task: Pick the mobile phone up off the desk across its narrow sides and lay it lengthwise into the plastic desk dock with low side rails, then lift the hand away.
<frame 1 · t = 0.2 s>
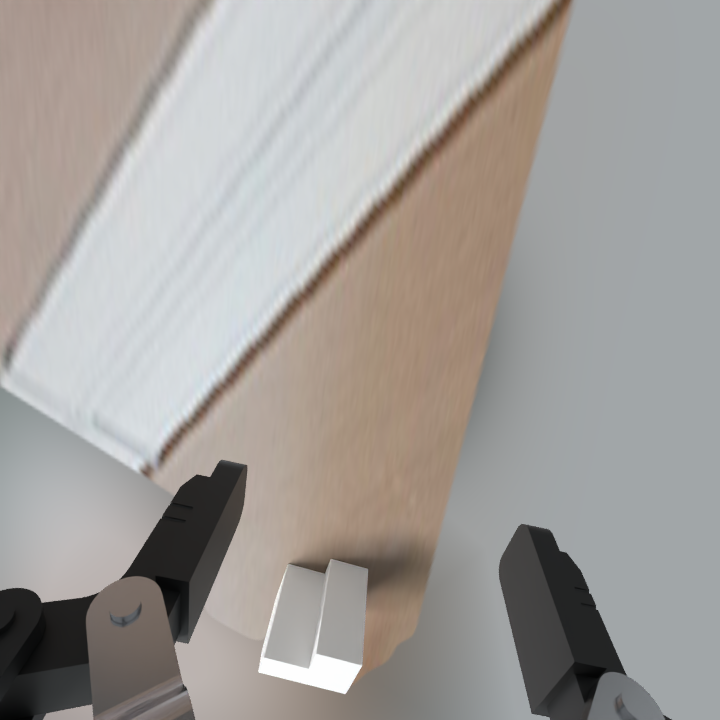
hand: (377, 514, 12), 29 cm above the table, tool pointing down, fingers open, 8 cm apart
corner bracket: (320, 582, 59), on the table
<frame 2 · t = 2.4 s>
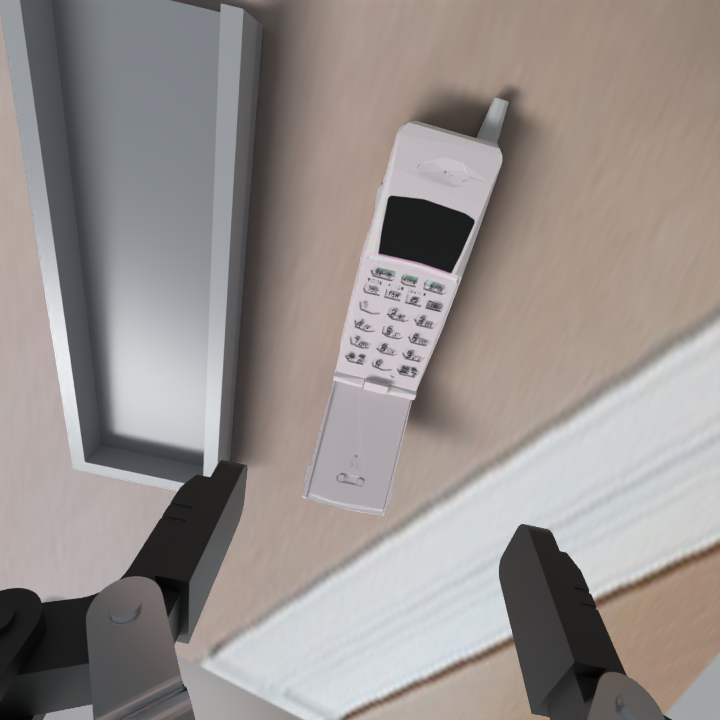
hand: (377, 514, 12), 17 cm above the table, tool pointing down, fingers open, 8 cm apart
phone dock: (160, 287, 27), on the table
mobile phone: (394, 310, 27), on the table
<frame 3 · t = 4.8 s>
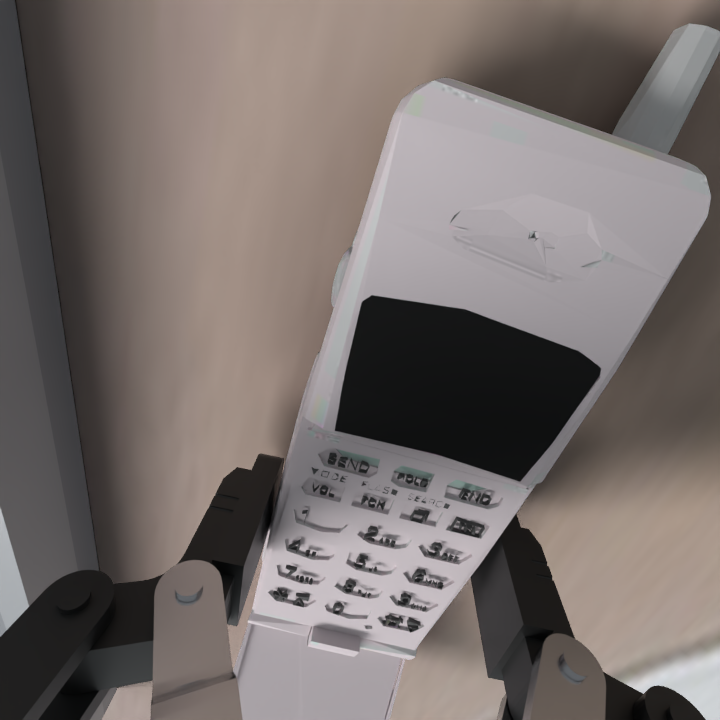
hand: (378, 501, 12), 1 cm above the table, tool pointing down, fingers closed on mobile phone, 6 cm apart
mobile phone: (377, 480, 14), on the table, touching gripper
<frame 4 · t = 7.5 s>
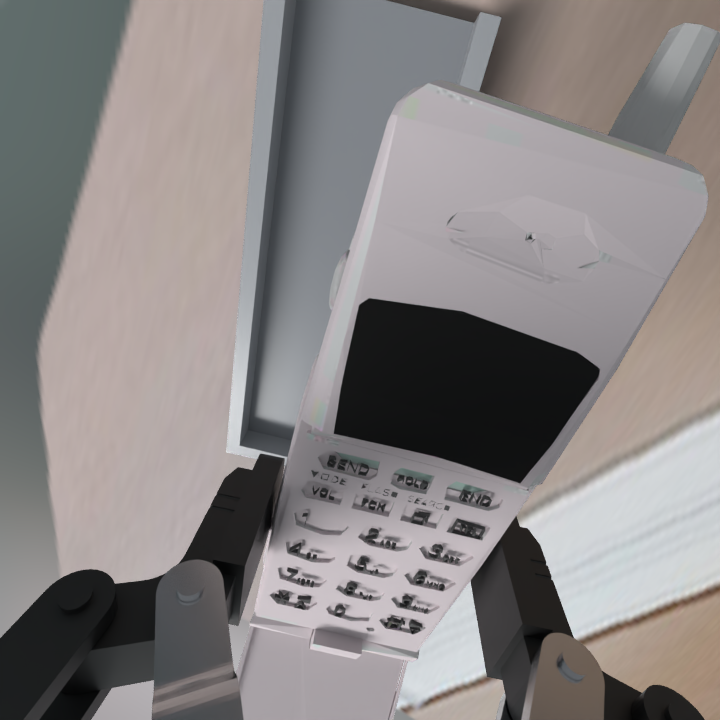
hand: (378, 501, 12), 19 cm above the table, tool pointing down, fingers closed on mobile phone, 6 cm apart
phone dock: (334, 279, 29), on the table
mobile phone: (378, 482, 14), point 17 cm above the table, touching gripper
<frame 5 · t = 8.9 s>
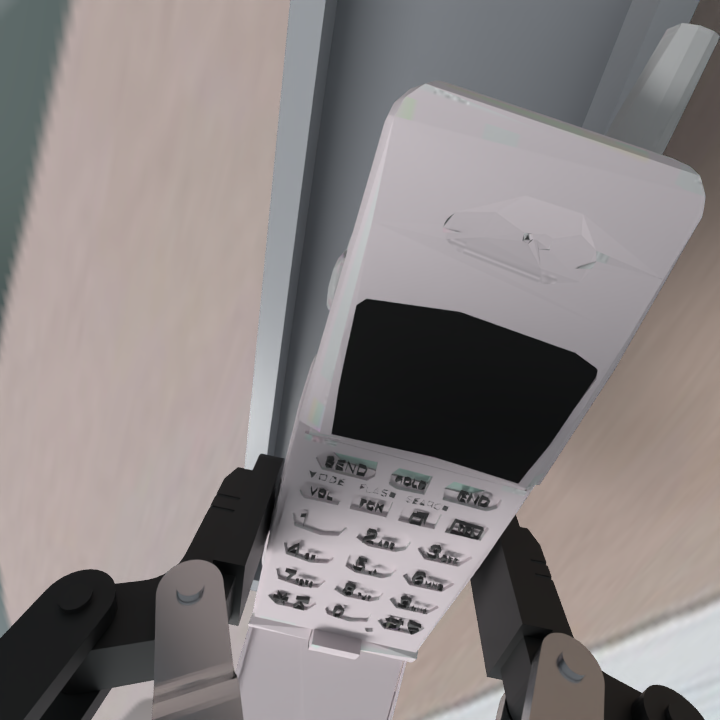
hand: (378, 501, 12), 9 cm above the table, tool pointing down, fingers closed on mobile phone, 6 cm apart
phone dock: (383, 363, 20), on the table
mobile phone: (377, 482, 14), point 8 cm above the table, touching gripper
when the fingers open (4 cm above the table, at t = 10.2 s): mobile phone drops 2 cm, resting on phone dock.
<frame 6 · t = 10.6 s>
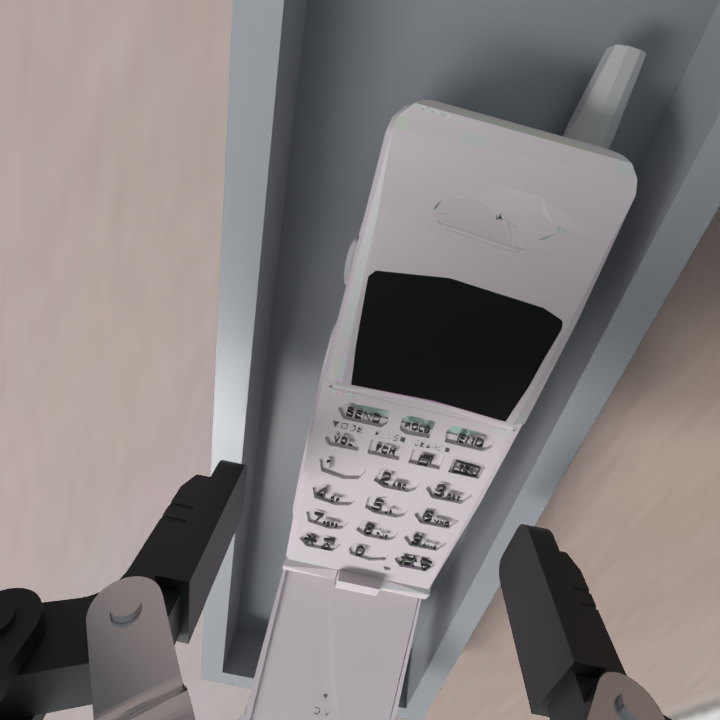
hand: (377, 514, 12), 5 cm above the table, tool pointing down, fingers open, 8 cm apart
phone dock: (382, 421, 16), on the table
mobile phone: (389, 442, 16), point 1 cm above the table, touching phone dock
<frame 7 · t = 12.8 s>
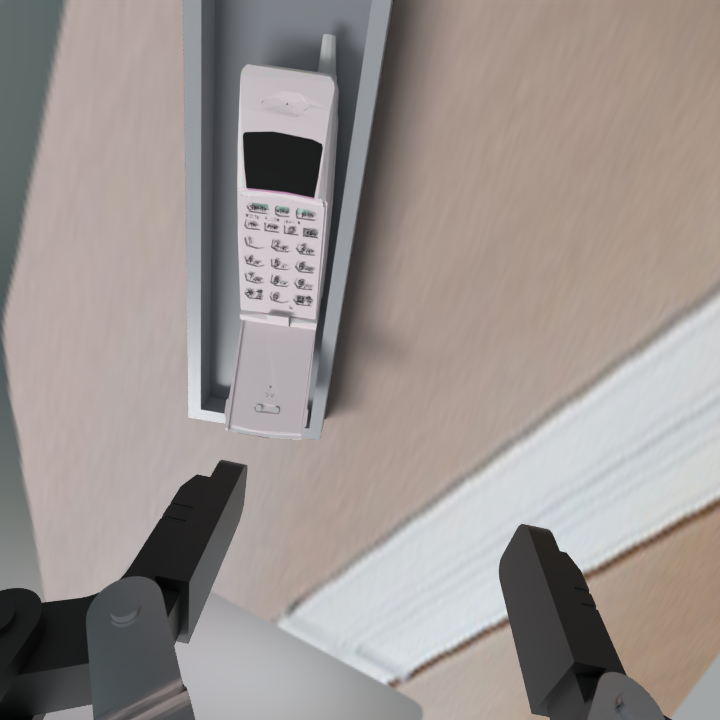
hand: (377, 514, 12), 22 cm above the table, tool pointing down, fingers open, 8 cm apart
phone dock: (278, 240, 31), on the table
mobile phone: (289, 249, 30), point 1 cm above the table, touching phone dock
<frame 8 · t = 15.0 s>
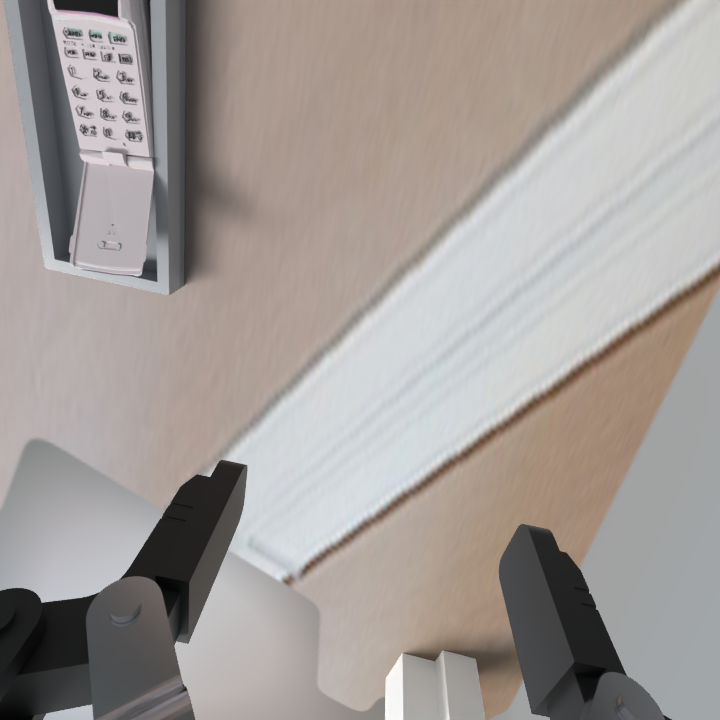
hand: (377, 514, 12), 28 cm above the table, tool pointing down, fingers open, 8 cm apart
phone dock: (115, 86, 32), on the table
corner bracket: (429, 667, 66), on the table
mobile phone: (127, 93, 32), point 1 cm above the table, touching phone dock
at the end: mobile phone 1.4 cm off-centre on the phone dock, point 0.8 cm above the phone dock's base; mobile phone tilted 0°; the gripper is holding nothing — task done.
